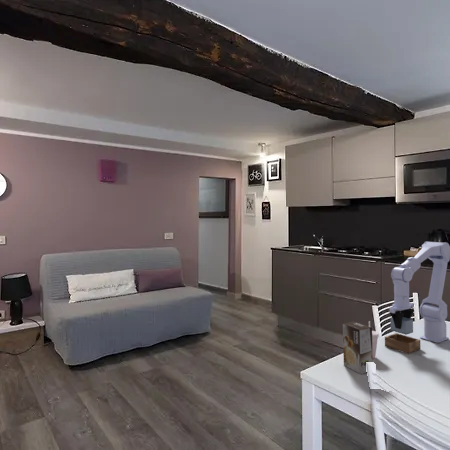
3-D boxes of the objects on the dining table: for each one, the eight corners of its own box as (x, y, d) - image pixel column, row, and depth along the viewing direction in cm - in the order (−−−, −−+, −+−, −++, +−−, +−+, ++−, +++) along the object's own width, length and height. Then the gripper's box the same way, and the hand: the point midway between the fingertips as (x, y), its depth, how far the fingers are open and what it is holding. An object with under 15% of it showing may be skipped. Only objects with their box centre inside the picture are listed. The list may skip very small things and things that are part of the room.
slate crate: (397, 328, 154) (397, 315, 154) (413, 332, 148) (412, 319, 148) (390, 330, 151) (390, 317, 151) (406, 334, 145) (405, 321, 145)
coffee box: (374, 371, 128) (373, 327, 127) (360, 374, 125) (359, 330, 125) (355, 361, 136) (354, 320, 136) (342, 364, 134) (341, 323, 133)
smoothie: (375, 353, 144) (375, 319, 144) (381, 359, 138) (380, 324, 137) (359, 353, 145) (359, 319, 144) (364, 359, 138) (363, 324, 138)
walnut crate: (396, 342, 156) (396, 333, 156) (420, 349, 147) (420, 339, 147) (384, 346, 152) (384, 337, 152) (408, 354, 143) (408, 344, 143)
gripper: (402, 291, 156) (402, 321, 157) (382, 296, 149) (383, 327, 149) (418, 294, 150) (418, 325, 151) (398, 299, 143) (398, 332, 143)
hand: (402, 327), depth 150 cm, fingers closed on slate crate, 5 cm apart
